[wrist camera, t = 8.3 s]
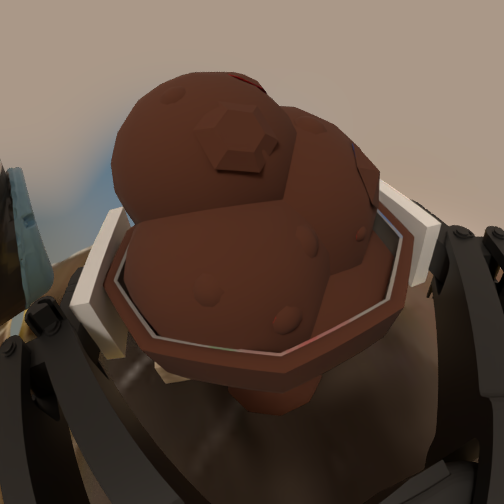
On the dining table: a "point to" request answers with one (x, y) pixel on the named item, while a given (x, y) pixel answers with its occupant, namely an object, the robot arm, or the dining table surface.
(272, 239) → the ice cream bowl
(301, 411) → the dining table surface
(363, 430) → the dining table surface
